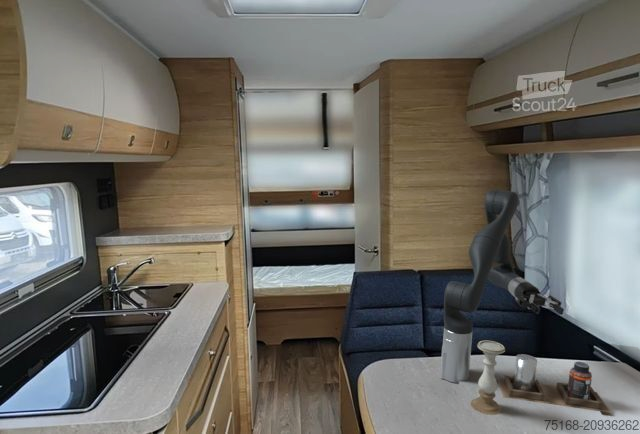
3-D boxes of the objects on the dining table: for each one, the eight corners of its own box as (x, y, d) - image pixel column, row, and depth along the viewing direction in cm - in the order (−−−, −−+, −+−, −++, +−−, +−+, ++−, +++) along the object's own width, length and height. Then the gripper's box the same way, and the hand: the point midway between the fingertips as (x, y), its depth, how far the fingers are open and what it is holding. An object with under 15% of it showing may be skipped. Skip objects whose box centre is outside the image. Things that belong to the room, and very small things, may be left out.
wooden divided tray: (503, 400, 138) (503, 391, 138) (497, 381, 150) (498, 372, 149) (610, 415, 131) (611, 406, 131) (595, 394, 143) (597, 386, 142)
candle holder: (507, 412, 132) (513, 347, 129) (489, 421, 127) (495, 354, 124) (481, 398, 139) (487, 336, 136) (464, 406, 134) (469, 343, 131)
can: (515, 394, 140) (518, 361, 138) (511, 384, 146) (514, 353, 144) (535, 396, 139) (539, 363, 137) (531, 387, 144) (534, 355, 143)
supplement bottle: (592, 404, 135) (596, 370, 133) (570, 402, 136) (574, 367, 135) (584, 394, 141) (588, 361, 139) (564, 392, 142) (568, 358, 140)
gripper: (507, 280, 161) (533, 300, 145) (543, 282, 163) (572, 302, 147) (503, 299, 163) (528, 321, 147) (538, 300, 165) (567, 322, 149)
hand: (550, 311), depth 147 cm, fingers open, 8 cm apart
